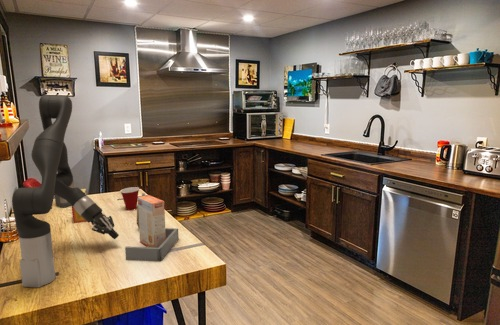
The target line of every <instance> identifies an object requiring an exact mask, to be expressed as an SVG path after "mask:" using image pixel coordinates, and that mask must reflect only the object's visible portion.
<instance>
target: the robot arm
mask: <svg viewBox="0 0 500 325" xmlns="http://www.w3.org/2000/svg"><path fill="white" fill-rule="evenodd" d="M38 109H39V110H38V112H39V116H40V121H41V125H42V129H43V131H42V132H40V133H39V134H38V136H37V137H35V140H34V143H33V146H32V150H31V159H32V162H33V163H34V165H35V167H36V168H37V170H38V171H39V172H38V173H39V174H40V176H41V184H40V186H31V187H26V186H25V187H19V188H16V189H15V190H14V192H13V193H12V197H11V204H12V205H11V206H12V211H13V216H14V222H15V227H16V230H17V233H18V240H19V248H20V257H21V259H20V260H19V267H20V268H19V269H20V276H21V283H22V287H24V288H26V287H27V288H42V287H43V286H45V285H48V284H50V283H51V282H53V281H55V279H56V269H55V258H54V249H53V240H52V230H51V224H50V223H49V222H48V221H45V220H41V219H38V218H37V217H35V216H36V215H37V216H38V215H47V214H48V213H49V212H51V210H52V207H53V205H54V204H53V203H54V199H55V194H56V195H58V196H59V197H61V198H63V199H65V200H66V201H67V202H68V203H69V204H70V205H71V206H70V207H71V208H72V207H73V208H74V209H75V210H76V211H77V212H78V213H79V214H80V215H81V216H82V217H83V218H84V219H85V220H86V221H87V222H86V223H91V225H92V228H91V230H92V231H93V232H97V233H99V234H102V235H105V234H106V235H108V236H110V238H112V239H113V240H116V239H118V237H119V236H120V235H119V233H118V232H117V231H116V230H115V229H114V227H115V223H114V220H113V217H112V216H111V215H109V216H107V215H105V214H104V213H103V209H102V208H101V207H100V206H99V205H98V204H97V203H96V202H95V201H94V200H93V199H92V198H91V197H89V196H88V195H86V194H87V193H86V194H85V193H84V192H83V191H82V190H81V189H82V188H79V187H74V188H71V187H69V186H70V185H71V184H72V182H73V183H74V176H73V173H72V170H71V167H70V165H69V159H68V158H69V157H68V148H67V145H66V143H65V142H64V141H65V137H66V136H65V135H66V132H67V128H68V126H69V125H68V124H69V122H70V119H71V116H72V112H73V101H72V100H71V98H70V97H68V96H66V95H54V94H53V95H51V94H44V95H41V96H40V97H39V101H38ZM52 119H53V120H54V119H55V120H54V121H52Z"/></svg>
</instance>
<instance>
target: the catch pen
mask: <svg viewBox="0 0 500 325" xmlns="http://www.w3.org/2000/svg"><path fill="white" fill-rule="evenodd" d="M165 232H166V240H165V241H164V242H163V243H162V244H161V245H160V246H159V247H158V248H153V247H147V246H128V245H127V246H125V247H124V252H125V254H124V255H125V260H127V261H129V260H130V261H148V262H152V261H153V262H161V261H162V260H163V259H164V258H165V257H166V255H167V254H168V253H169V251H170V250H171V249H172V248H173V246H174V245H175V244H176V243H177V241H178V240H179V228H173V227H172V228H170V227H169V228H167V227H165Z"/></svg>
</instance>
